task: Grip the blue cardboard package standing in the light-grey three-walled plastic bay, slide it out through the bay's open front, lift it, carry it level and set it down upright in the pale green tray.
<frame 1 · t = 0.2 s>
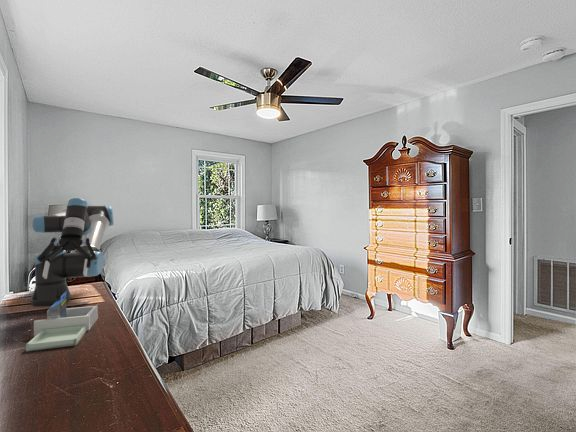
hand: (64, 276, 129), 16 cm above the dresser, tool tilted 35°, fingers open, 13 cm apart
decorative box: (54, 290, 173), on the dresser
tray: (58, 340, 106), on the dresser
bay: (58, 327, 117), on the dresser
blue cardboard package: (58, 328, 117), on the dresser
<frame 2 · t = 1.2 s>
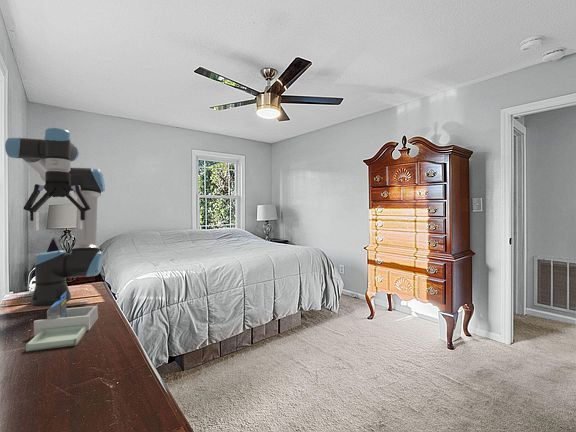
hand: (58, 229, 119), 35 cm above the dresser, tool pointing down, fingers open, 13 cm apart
nothing on the dresser moved.
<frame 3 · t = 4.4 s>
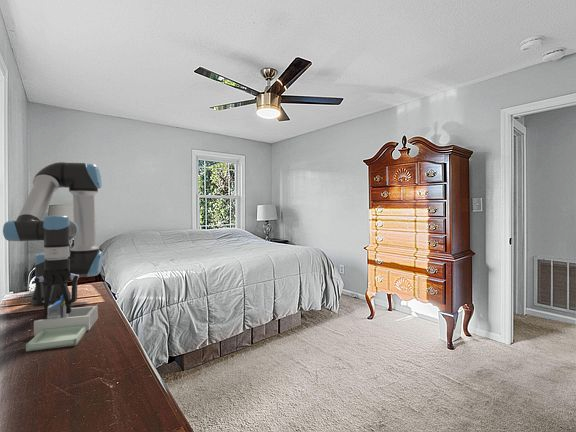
hand: (58, 323, 117), 2 cm above the dresser, tool pointing down, fingers closed on blue cardboard package, 4 cm apart
blue cardboard package: (58, 328, 117), on the dresser, touching gripper
everything else where it was.
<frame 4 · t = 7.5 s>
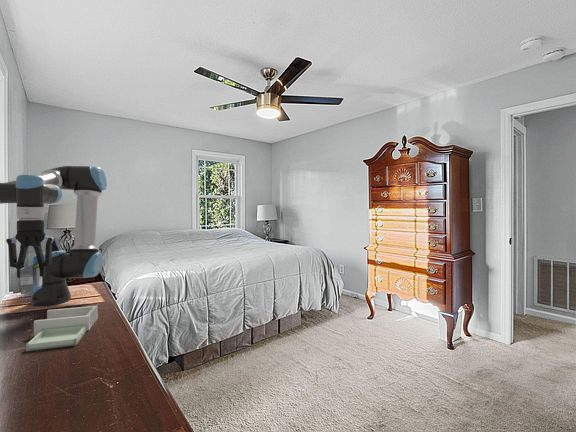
hand: (31, 286, 114), 16 cm above the dresser, tool pointing down, fingers closed on blue cardboard package, 4 cm apart
blue cardboard package: (31, 291, 114), point 14 cm above the dresser, touching gripper
everything else where it was.
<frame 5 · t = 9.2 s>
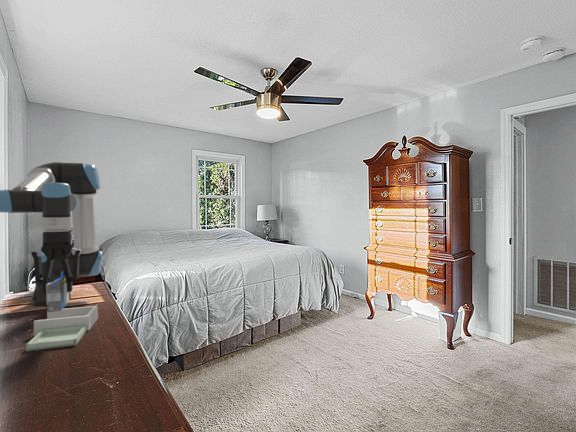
hand: (58, 302, 106), 12 cm above the dresser, tool pointing down, fingers closed on blue cardboard package, 4 cm apart
blue cardboard package: (58, 308, 106), point 10 cm above the dresser, touching gripper
everything else where it was.
when the fingers open (4 cm above the dresser, at t = 10.8 s): blue cardboard package drops 1 cm, resting on tray.
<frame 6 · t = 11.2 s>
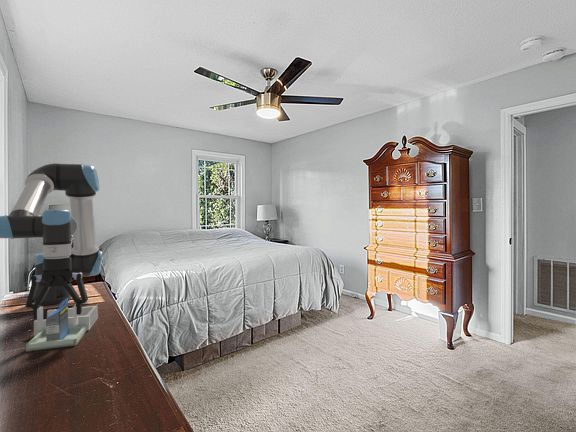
hand: (58, 326, 106), 5 cm above the dresser, tool pointing down, fingers open, 9 cm apart
blue cardboard package: (58, 339, 106), resting on tray
everything else where it was.
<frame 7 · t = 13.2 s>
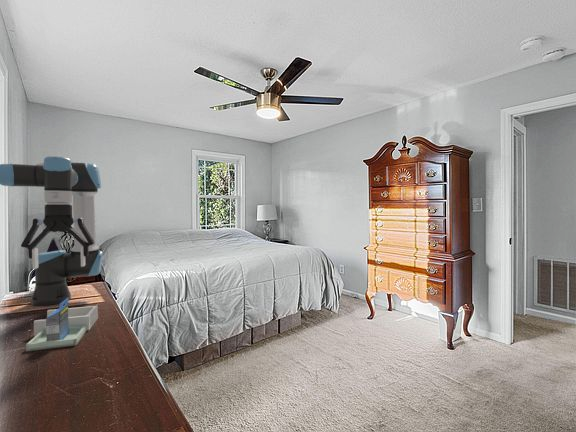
hand: (59, 267, 109), 23 cm above the dresser, tool pointing down, fingers open, 13 cm apart
nothing on the dresser moved.
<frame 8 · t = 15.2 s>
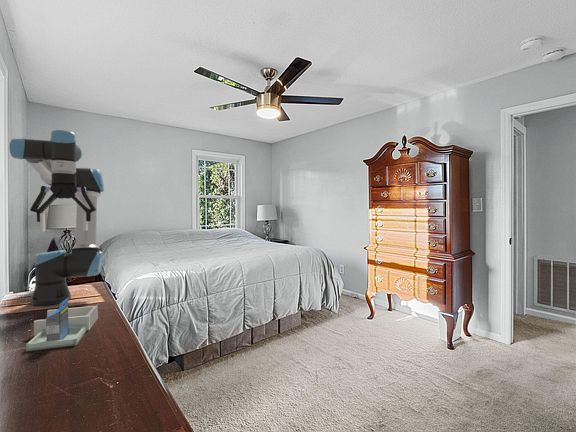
hand: (64, 230, 121), 35 cm above the dresser, tool pointing down, fingers open, 13 cm apart
nothing on the dresser moved.
at the end: blue cardboard package inside the target area on the tray (0.1 cm from its centre), point 0.4 cm above the tray's base; blue cardboard package tilted 0°; the gripper is holding nothing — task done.
